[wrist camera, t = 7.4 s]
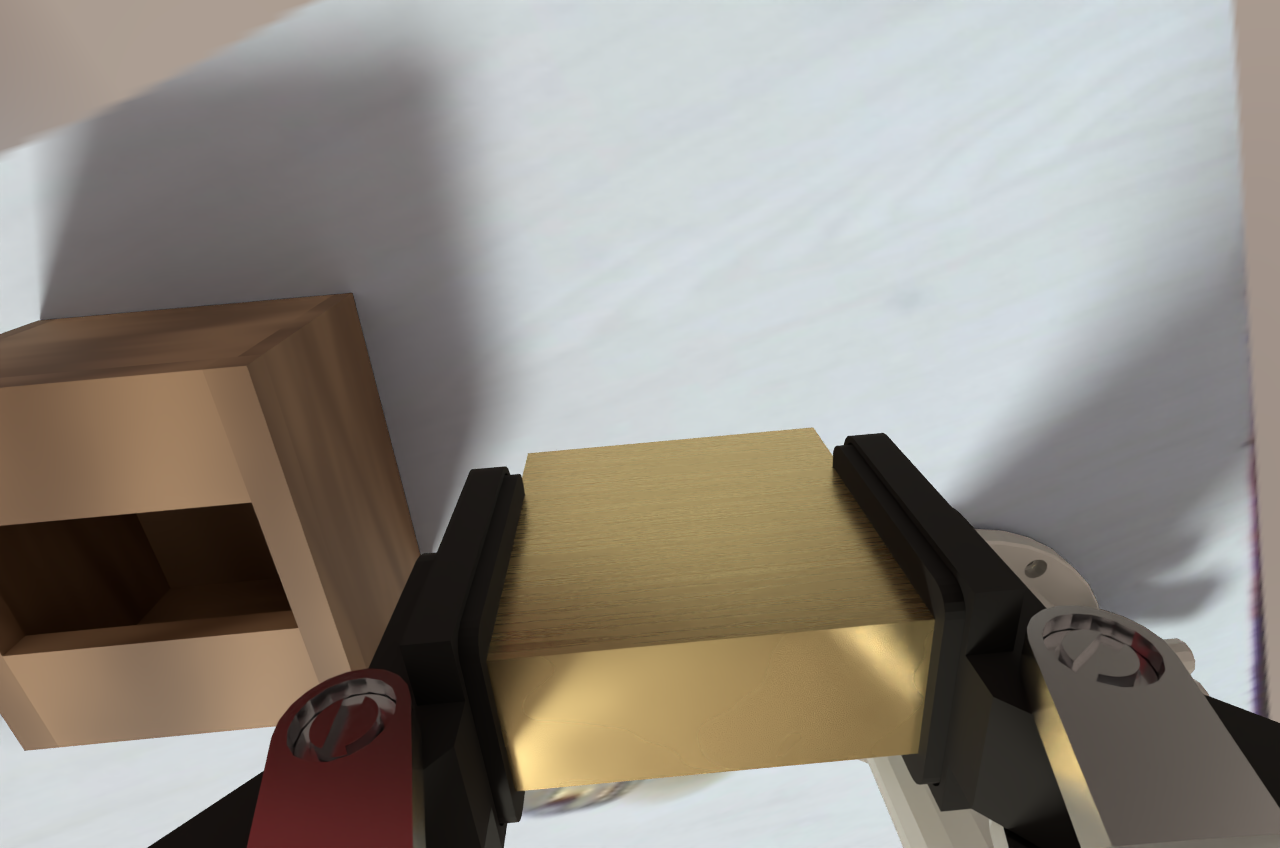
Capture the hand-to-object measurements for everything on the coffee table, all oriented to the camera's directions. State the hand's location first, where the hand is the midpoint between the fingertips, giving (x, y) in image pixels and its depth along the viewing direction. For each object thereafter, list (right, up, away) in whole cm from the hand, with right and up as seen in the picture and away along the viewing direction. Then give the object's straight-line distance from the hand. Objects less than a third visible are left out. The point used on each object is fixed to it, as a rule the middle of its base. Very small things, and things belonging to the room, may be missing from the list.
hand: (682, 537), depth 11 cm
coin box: (-14, +1, +13) cm, 19 cm away
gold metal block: (0, +1, +1) cm, 1 cm away
